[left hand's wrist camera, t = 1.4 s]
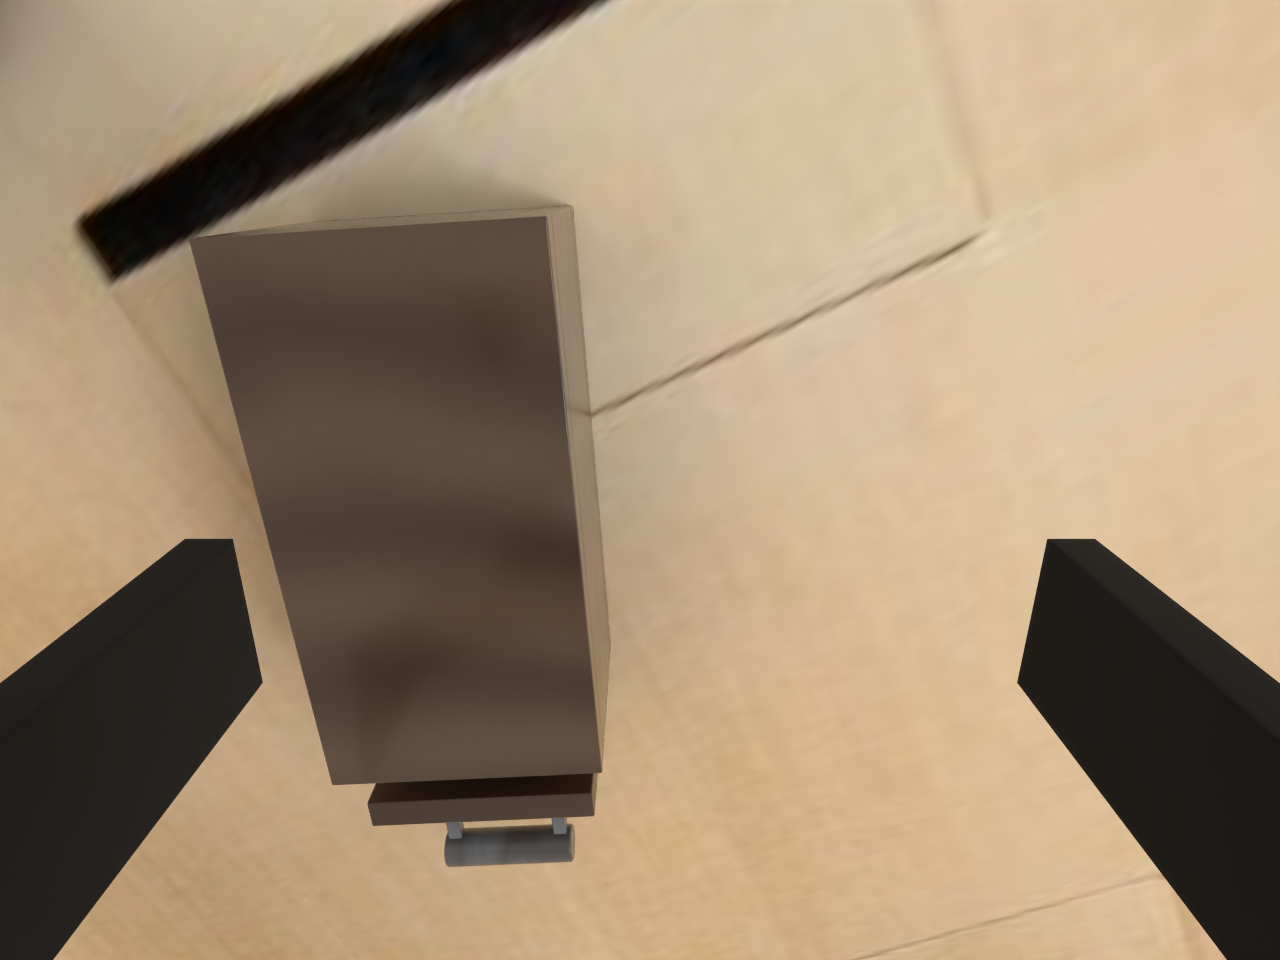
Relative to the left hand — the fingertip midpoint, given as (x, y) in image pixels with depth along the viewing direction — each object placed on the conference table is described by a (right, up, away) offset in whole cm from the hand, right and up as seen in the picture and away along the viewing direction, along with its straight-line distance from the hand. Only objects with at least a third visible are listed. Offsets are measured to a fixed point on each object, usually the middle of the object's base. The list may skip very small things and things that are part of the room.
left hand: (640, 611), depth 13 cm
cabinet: (-7, +3, +20) cm, 22 cm away
